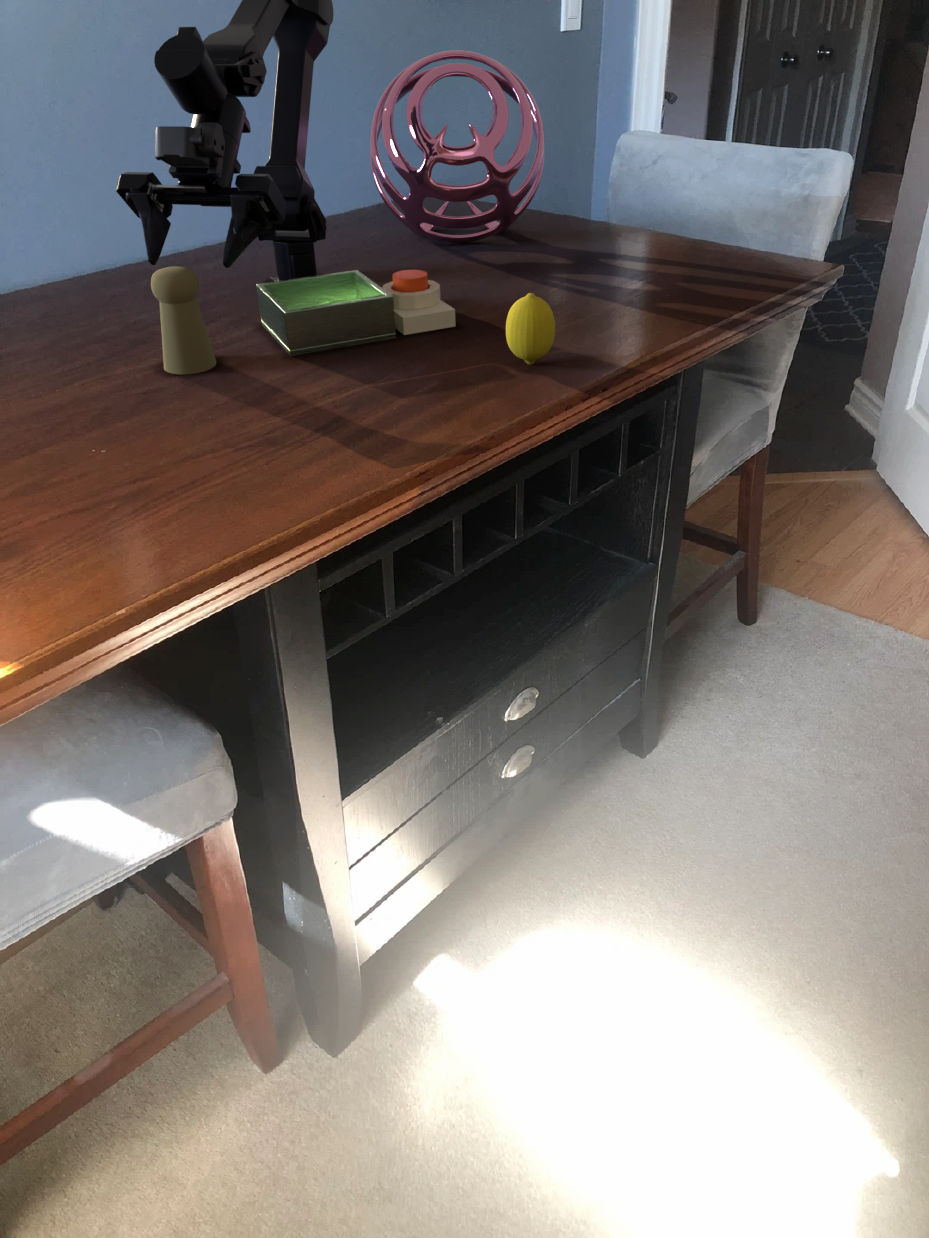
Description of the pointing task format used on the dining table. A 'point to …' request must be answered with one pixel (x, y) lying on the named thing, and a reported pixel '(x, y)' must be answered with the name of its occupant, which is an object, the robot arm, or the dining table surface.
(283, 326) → the warming box
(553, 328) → the lemon
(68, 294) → the dining table surface
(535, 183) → the pink openwork sphere
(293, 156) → the robot arm
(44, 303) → the dining table surface
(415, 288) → the button
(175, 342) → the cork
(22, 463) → the dining table surface
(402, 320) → the control block
